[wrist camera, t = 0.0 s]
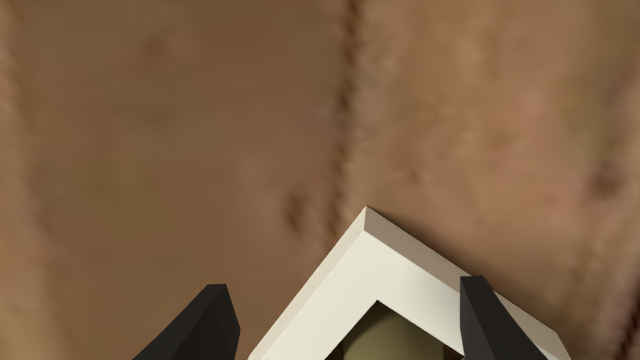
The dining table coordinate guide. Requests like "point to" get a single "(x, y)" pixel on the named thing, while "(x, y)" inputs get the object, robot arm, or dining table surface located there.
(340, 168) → the dining table surface
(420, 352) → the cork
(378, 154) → the dining table surface
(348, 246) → the holder
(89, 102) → the dining table surface
